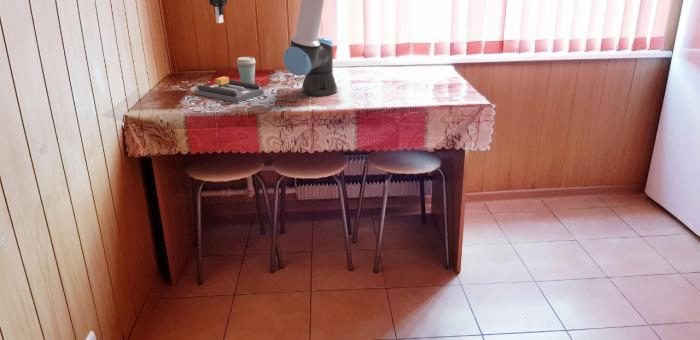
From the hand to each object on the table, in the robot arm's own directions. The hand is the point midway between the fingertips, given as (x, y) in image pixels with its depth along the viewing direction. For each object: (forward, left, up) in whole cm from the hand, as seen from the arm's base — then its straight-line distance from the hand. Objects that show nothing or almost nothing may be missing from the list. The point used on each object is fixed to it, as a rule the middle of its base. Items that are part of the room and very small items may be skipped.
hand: (219, 22), depth 217 cm
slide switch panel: (-8, +6, -28) cm, 30 cm away
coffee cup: (-3, -11, -29) cm, 31 cm away
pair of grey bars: (-8, +6, -26) cm, 28 cm away
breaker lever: (-4, +6, -26) cm, 27 cm away
